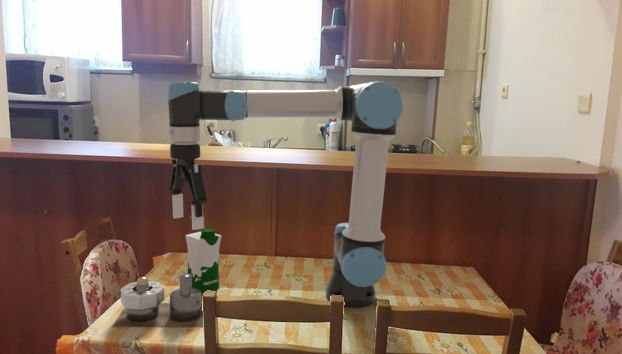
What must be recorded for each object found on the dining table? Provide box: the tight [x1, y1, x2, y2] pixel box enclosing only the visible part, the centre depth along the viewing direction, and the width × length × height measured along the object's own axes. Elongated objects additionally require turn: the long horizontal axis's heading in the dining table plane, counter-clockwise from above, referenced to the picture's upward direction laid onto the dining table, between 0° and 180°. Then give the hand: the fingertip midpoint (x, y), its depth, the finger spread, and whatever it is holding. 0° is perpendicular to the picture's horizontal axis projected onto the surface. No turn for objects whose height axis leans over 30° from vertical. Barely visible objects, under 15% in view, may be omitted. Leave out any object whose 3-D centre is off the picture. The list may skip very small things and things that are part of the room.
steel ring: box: [120, 280, 165, 310], centre depth 126 cm, size 10×10×4 cm
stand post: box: [169, 273, 202, 322], centre depth 127 cm, size 8×8×11 cm
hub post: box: [127, 276, 159, 322], centre depth 126 cm, size 8×8×10 cm
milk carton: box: [185, 227, 222, 295], centre depth 145 cm, size 9×9×20 cm
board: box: [111, 302, 204, 328], centre depth 128 cm, size 14×24×2 cm, turn 95°
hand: (187, 223), depth 128 cm, fingers open, 13 cm apart
